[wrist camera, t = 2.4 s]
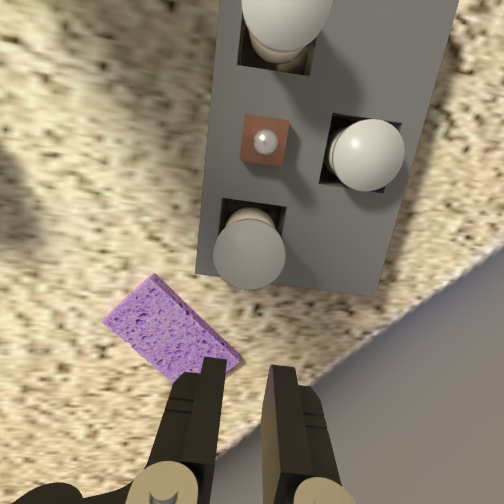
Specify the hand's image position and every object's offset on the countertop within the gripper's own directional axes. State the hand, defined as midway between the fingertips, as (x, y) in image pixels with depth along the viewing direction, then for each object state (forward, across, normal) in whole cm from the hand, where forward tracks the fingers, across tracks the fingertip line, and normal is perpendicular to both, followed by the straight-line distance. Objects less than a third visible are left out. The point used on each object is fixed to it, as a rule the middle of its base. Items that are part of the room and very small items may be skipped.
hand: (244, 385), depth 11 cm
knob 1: (+18, 0, 0) cm, 18 cm away
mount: (+21, -3, -7) cm, 22 cm away
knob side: (+21, -7, -7) cm, 23 cm away
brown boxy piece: (+17, 0, -7) cm, 18 cm away
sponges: (+22, +6, +13) cm, 26 cm away
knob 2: (+18, 0, -14) cm, 22 cm away
